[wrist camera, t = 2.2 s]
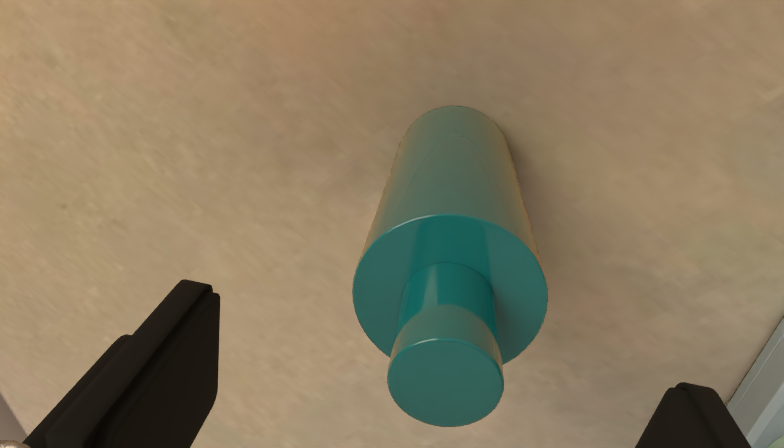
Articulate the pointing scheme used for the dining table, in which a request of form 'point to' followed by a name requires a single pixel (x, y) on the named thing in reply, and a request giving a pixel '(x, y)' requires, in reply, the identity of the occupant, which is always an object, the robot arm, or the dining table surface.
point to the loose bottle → (450, 269)
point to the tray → (762, 395)
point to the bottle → (777, 443)
